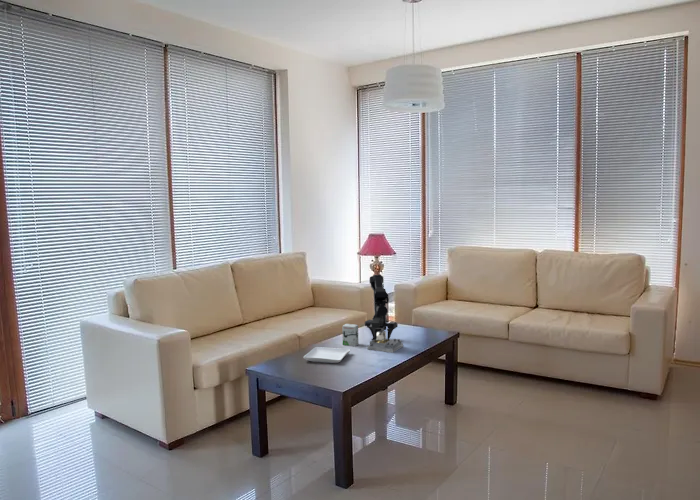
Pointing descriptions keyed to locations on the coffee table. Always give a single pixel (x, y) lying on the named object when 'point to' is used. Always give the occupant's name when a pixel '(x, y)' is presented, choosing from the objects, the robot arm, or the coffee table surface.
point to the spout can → (381, 336)
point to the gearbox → (385, 345)
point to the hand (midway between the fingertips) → (381, 338)
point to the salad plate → (326, 354)
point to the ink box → (350, 334)
